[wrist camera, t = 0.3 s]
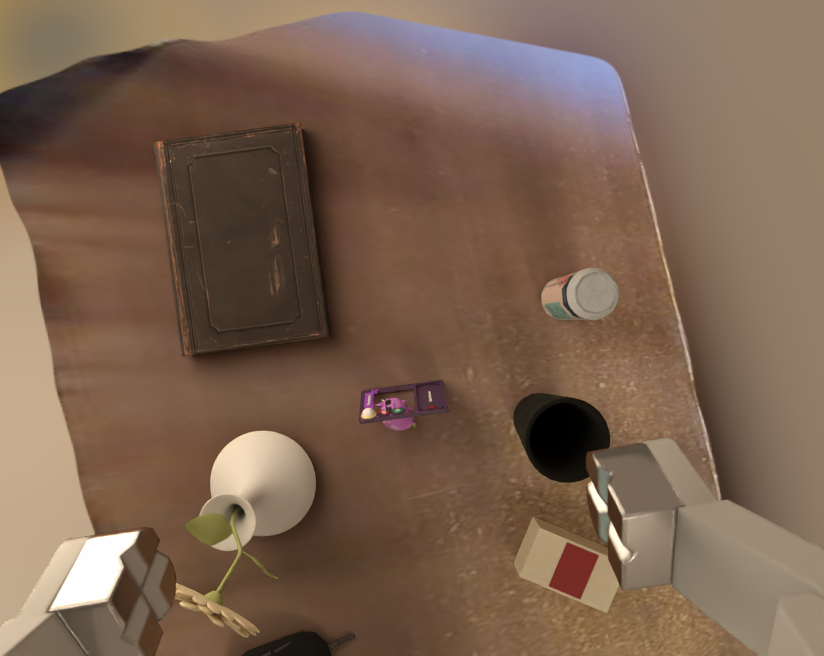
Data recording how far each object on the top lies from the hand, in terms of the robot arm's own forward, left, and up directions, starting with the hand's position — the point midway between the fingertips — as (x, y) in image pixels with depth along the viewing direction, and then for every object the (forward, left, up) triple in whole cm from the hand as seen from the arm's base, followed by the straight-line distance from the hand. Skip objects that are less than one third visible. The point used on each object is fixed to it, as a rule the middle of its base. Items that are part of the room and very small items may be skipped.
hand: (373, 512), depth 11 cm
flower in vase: (-2, +21, -53) cm, 57 cm away
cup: (-14, -7, -53) cm, 56 cm away
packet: (-28, 0, -53) cm, 60 cm away
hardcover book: (+21, +7, -53) cm, 57 cm away
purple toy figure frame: (-4, +4, -53) cm, 54 cm away
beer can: (-5, -17, -53) cm, 56 cm away
